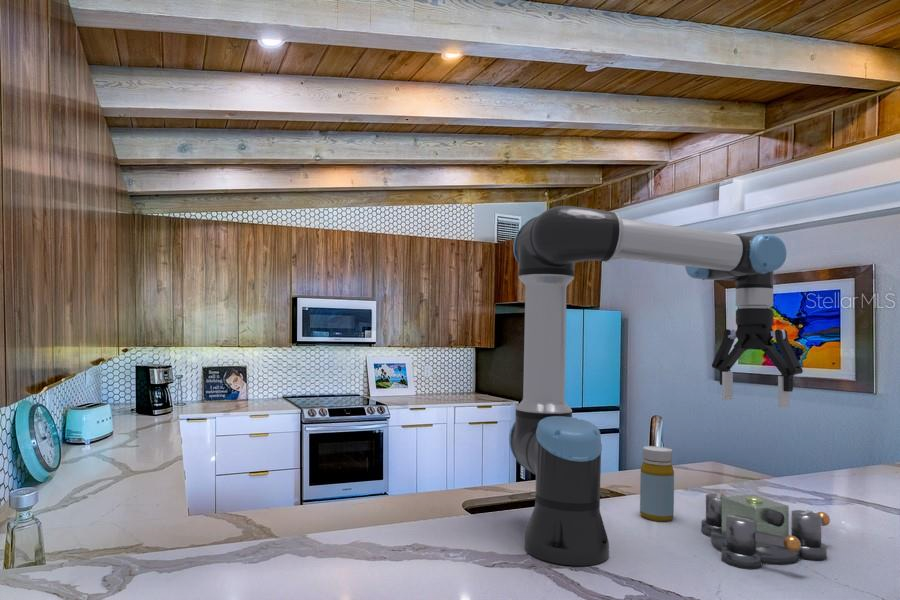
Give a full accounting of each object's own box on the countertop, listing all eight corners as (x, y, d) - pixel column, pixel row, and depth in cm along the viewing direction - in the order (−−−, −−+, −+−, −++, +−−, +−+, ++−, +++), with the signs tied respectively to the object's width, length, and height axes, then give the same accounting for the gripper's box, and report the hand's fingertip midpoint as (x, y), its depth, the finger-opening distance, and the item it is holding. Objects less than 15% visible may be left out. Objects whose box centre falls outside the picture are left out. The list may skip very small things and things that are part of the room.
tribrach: (741, 570, 101) (741, 513, 101) (663, 532, 120) (664, 484, 120) (834, 559, 108) (834, 505, 109) (747, 525, 127) (747, 479, 127)
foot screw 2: (722, 549, 105) (723, 517, 105) (730, 542, 108) (730, 512, 109) (797, 567, 97) (797, 533, 97) (803, 560, 101) (803, 527, 101)
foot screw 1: (731, 528, 117) (731, 500, 117) (705, 524, 119) (705, 496, 119) (731, 513, 128) (731, 487, 128) (707, 509, 130) (707, 484, 130)
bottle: (676, 523, 126) (676, 452, 127) (641, 520, 127) (643, 450, 128) (670, 514, 133) (671, 447, 134) (638, 511, 134) (639, 444, 135)
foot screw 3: (815, 548, 107) (815, 517, 107) (787, 541, 110) (787, 511, 111) (838, 536, 114) (838, 507, 114) (811, 529, 118) (811, 501, 118)
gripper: (820, 307, 123) (821, 409, 122) (717, 310, 145) (717, 397, 144) (799, 305, 119) (799, 410, 118) (696, 308, 141) (696, 397, 140)
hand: (754, 403), depth 131 cm, fingers open, 13 cm apart
